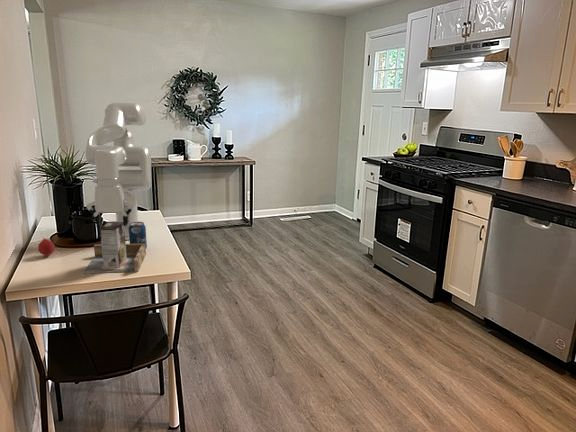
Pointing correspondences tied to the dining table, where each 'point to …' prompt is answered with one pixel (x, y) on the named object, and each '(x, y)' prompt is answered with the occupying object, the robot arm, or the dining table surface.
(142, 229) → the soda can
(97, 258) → the corner arena
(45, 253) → the onion
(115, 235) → the coffee box
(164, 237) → the dining table surface
